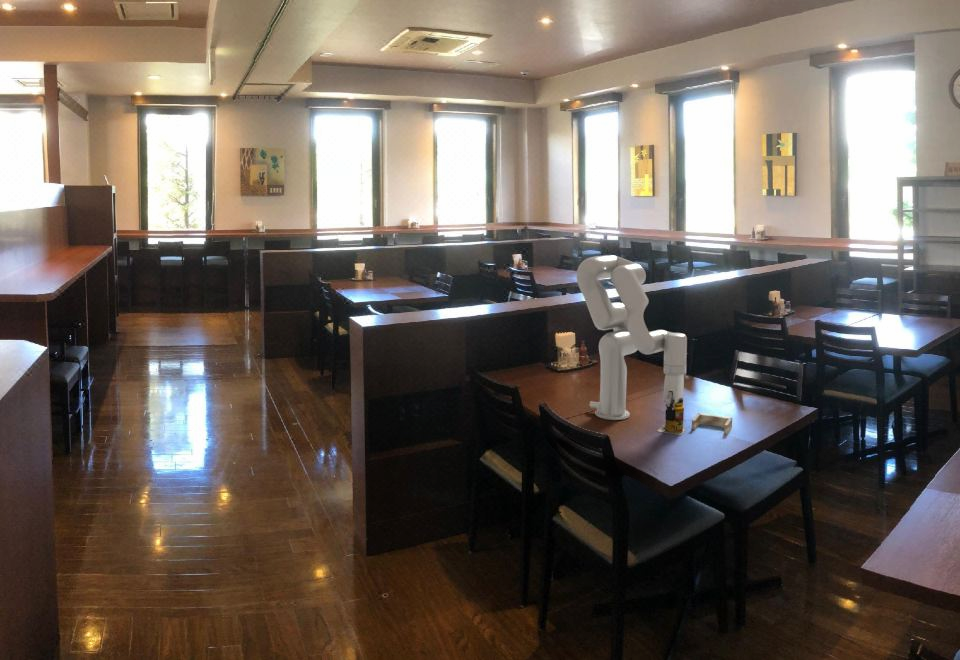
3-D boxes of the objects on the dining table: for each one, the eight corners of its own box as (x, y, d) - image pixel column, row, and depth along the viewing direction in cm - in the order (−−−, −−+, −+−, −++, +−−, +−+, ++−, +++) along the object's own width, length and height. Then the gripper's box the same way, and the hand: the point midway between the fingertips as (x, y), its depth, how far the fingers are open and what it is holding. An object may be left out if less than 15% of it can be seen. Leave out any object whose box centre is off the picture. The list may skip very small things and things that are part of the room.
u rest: (691, 429, 267) (692, 420, 267) (697, 422, 275) (697, 413, 274) (726, 434, 262) (727, 425, 261) (731, 427, 269) (732, 418, 269)
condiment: (680, 435, 261) (682, 401, 259) (656, 431, 266) (658, 398, 263) (686, 429, 268) (688, 396, 265) (662, 425, 272) (664, 393, 269)
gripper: (670, 363, 271) (669, 409, 274) (657, 373, 256) (656, 422, 259) (691, 364, 268) (690, 411, 271) (679, 375, 253) (678, 424, 256)
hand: (673, 416), depth 265 cm, fingers open, 9 cm apart
